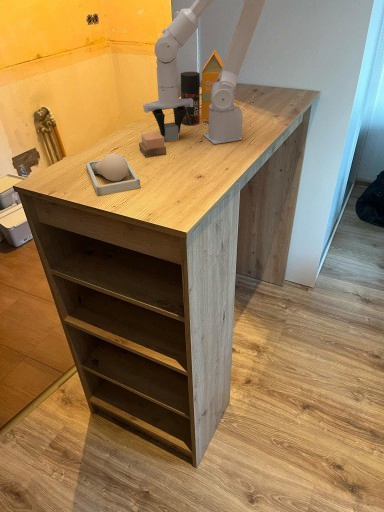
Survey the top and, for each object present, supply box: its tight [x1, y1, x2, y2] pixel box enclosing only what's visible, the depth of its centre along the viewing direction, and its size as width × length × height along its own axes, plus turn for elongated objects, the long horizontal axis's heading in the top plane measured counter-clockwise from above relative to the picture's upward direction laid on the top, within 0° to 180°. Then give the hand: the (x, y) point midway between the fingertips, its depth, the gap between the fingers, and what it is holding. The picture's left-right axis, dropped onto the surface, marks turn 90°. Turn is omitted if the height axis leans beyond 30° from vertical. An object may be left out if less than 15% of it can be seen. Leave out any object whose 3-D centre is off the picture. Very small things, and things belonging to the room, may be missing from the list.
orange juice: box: [200, 49, 224, 121], centre depth 124 cm, size 8×9×20 cm
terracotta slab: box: [140, 131, 166, 149], centre depth 102 cm, size 5×5×2 cm
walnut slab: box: [138, 141, 167, 159], centre depth 104 cm, size 6×6×2 cm
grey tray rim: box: [85, 155, 142, 197], centre depth 91 cm, size 10×15×2 cm
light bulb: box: [91, 152, 128, 182], centre depth 91 cm, size 7×7×11 cm
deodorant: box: [180, 71, 201, 127], centre depth 119 cm, size 6×6×15 cm
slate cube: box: [163, 121, 180, 143], centre depth 112 cm, size 4×4×4 cm
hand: (170, 133), depth 112 cm, fingers closed on slate cube, 4 cm apart
